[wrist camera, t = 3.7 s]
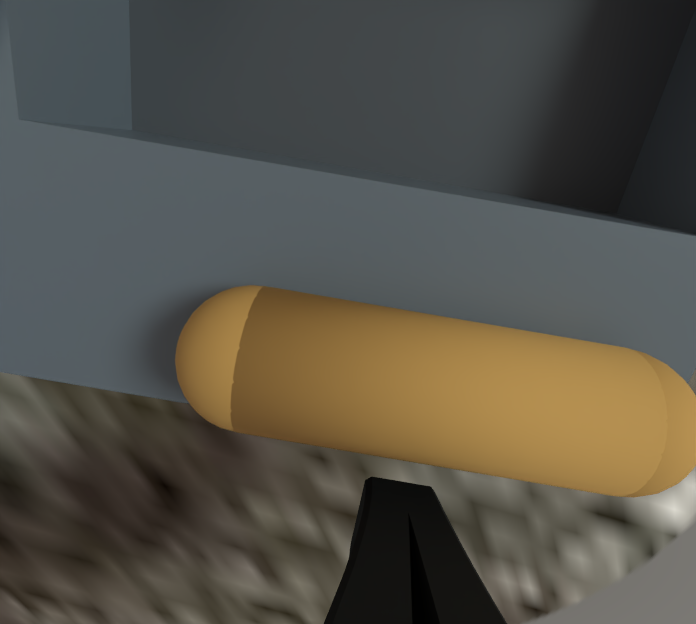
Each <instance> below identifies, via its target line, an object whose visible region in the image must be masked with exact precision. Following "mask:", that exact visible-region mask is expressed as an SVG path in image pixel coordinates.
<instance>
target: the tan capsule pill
mask: <svg viewBox="0 0 696 624" xmlns="http://www.w3.org/2000/svg"><path fill="white" fill-rule="evenodd" d="M175 365H176V373H177V379H178V382H179V385H180V387H181V389H182V392H183V394H184V396H185V398H186V399H187V401H188V402H189V403H190V405H191V406H192V407H193V408H194V410H195V411H196V412H197V413H198V414H200V415H201V416H202V417H203V418H204V419H205V420H207V421H208V422H210V423H212V424H214V425H216V426H218V427H220V428H223V429H227V430H230V431H234V432H237V433H243V434H249V435H255V436H261V437H267V438H272V439H278V440H284V441H290V442H296V443H302V444H308V445H314V446H320V447H326V448H332V449H338V450H344V451H350V452H356V453H361V454H367V455H373V456H379V457H385V458H391V459H397V460H403V461H409V462H415V463H421V464H427V465H433V466H439V467H445V468H451V469H456V470H462V471H468V472H474V473H480V474H486V475H492V476H498V477H504V478H510V479H516V480H522V481H528V482H534V483H540V484H545V485H551V486H557V487H563V488H569V489H575V490H581V491H587V492H593V493H599V494H605V495H611V496H619V497H639V496H646V495H652V494H657V493H660V492H662V491H664V490H666V489H668V488H670V487H672V486H674V485H676V484H678V483H679V482H681V481H682V480H683V479H684V478H685V477H686V476H687V475H688V474H689V473H690V472H691V471H692V470H693V468H694V467H695V466H696V396H695V394H694V392H693V391H692V389H691V388H690V387H689V385H688V384H687V383H686V381H685V380H684V379H683V378H682V377H681V376H680V375H679V374H677V373H676V372H675V371H674V370H673V369H672V368H670V367H669V366H668V365H667V364H665V363H663V362H661V361H660V360H658V359H656V358H654V357H652V356H650V355H648V354H646V353H643V352H640V351H636V350H632V349H629V348H625V347H619V346H613V345H608V344H602V343H596V342H590V341H584V340H578V339H572V338H567V337H561V336H555V335H549V334H543V333H537V332H531V331H526V330H520V329H514V328H508V327H502V326H496V325H490V324H485V323H479V322H473V321H467V320H461V319H455V318H449V317H444V316H438V315H432V314H426V313H420V312H414V311H408V310H403V309H397V308H391V307H385V306H379V305H373V304H367V303H362V302H356V301H350V300H344V299H338V298H332V297H326V296H321V295H315V294H309V293H303V292H297V291H291V290H285V289H280V288H274V287H268V286H256V285H248V286H240V287H233V288H231V289H228V290H225V291H222V292H220V293H218V294H216V295H215V296H213V297H211V298H209V299H208V300H206V301H205V302H204V303H203V304H202V305H200V306H199V307H198V308H197V309H196V310H195V311H194V312H193V313H192V315H191V316H190V318H189V319H188V321H187V323H186V324H185V326H184V327H183V329H182V331H181V334H180V336H179V339H178V343H177V347H176V354H175Z"/></svg>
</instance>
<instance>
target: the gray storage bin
mask: <svg viewBox="0 0 696 624" xmlns="http://www.w3.org/2000/svg"><path fill="white" fill-rule="evenodd" d="M248 285H256V286H268V287H274V288H280V289H285V290H291V291H297V292H303V293H309V294H315V295H321V296H326V297H332V298H338V299H344V300H350V301H356V302H362V303H367V304H373V305H379V306H385V307H391V308H397V309H403V310H408V311H414V312H420V313H426V314H432V315H438V316H444V317H449V318H455V319H461V320H467V321H473V322H479V323H485V324H490V325H496V326H502V327H508V328H514V329H520V330H526V331H531V332H537V333H543V334H549V335H555V336H561V337H567V338H572V339H578V340H584V341H590V342H596V343H602V344H608V345H613V346H619V347H625V348H629V349H632V350H636V351H640V352H643V353H646V354H648V355H650V356H652V357H654V358H656V359H658V360H660V361H661V362H663V363H665V364H667V365H668V366H669V367H670V368H672V369H673V370H674V371H675V372H676V373H677V374H679V375H680V376H681V377H682V378H683V379H684V380H685V381H686V383H687V384H688V382H689V380H690V378H691V376H692V374H693V373H694V371H695V369H696V0H0V372H4V373H10V374H16V375H22V376H27V377H33V378H39V379H45V380H51V381H57V382H63V383H69V384H75V385H81V386H87V387H93V388H99V389H104V390H110V391H116V392H122V393H128V394H134V395H140V396H146V397H152V398H158V399H164V400H170V401H176V402H181V403H187V404H190V403H189V402H188V401H187V399H186V398H185V396H184V394H183V392H182V389H181V387H180V385H179V382H178V379H177V373H176V365H175V354H176V347H177V343H178V339H179V336H180V334H181V331H182V329H183V327H184V326H185V324H186V323H187V321H188V319H189V318H190V316H191V315H192V313H193V312H194V311H195V310H196V309H197V308H198V307H199V306H200V305H202V304H203V303H204V302H205V301H206V300H208V299H209V298H211V297H213V296H215V295H216V294H218V293H220V292H222V291H225V290H228V289H231V288H233V287H240V286H248Z"/></svg>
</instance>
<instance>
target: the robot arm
mask: <svg viewBox="0 0 696 624" xmlns="http://www.w3.org/2000/svg"><path fill="white" fill-rule="evenodd" d="M324 624H507V623H506V621H505V619H504V618H503V616H502V615H501V613H500V611H499V610H498V608H497V606H496V605H495V603H494V601H493V599H492V598H491V596H490V594H489V593H488V591H487V589H486V587H485V586H484V584H483V582H482V580H481V579H480V577H479V575H478V573H477V572H476V570H475V568H474V567H473V565H472V563H471V561H470V559H469V557H468V556H467V554H466V552H465V550H464V548H463V546H462V544H461V543H460V541H459V539H458V537H457V535H456V533H455V531H454V529H453V527H452V525H451V524H450V522H449V520H448V518H447V516H446V514H445V512H444V510H443V508H442V506H441V504H440V502H439V500H438V498H437V496H436V494H435V492H434V490H433V489H432V487H430V486H424V485H418V484H412V483H406V482H400V481H395V480H389V479H383V478H377V477H370V478H368V479H366V480H365V484H364V488H363V492H362V497H361V501H360V506H359V510H358V514H357V519H356V523H355V528H354V532H353V536H352V541H351V546H350V555H349V560H348V563H347V566H346V569H345V572H344V574H343V577H342V580H341V582H340V585H339V587H338V590H337V592H336V595H335V597H334V600H333V602H332V605H331V607H330V610H329V612H328V614H327V617H326V619H325V622H324Z"/></svg>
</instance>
